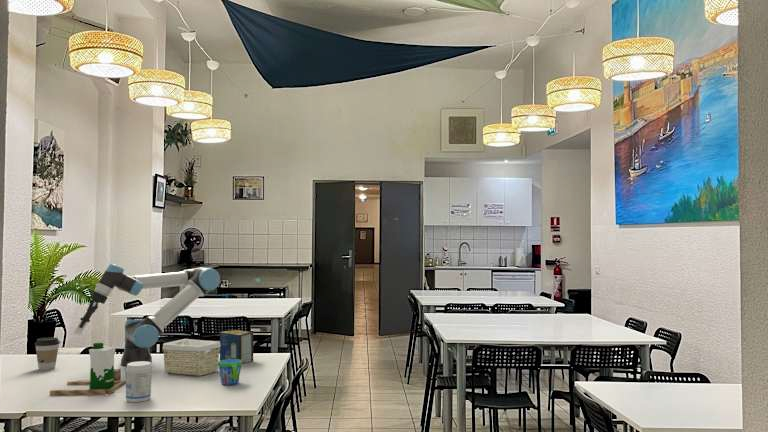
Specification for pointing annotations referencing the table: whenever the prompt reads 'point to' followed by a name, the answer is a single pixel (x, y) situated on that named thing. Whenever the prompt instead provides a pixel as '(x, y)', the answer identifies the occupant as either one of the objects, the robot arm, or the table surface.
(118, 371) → the walnut cube
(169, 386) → the table surface
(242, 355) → the protein box
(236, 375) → the snack cup
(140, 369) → the supplement tub
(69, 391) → the lane
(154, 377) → the table surface
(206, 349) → the storage basket
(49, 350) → the coffee cup
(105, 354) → the soya milk
